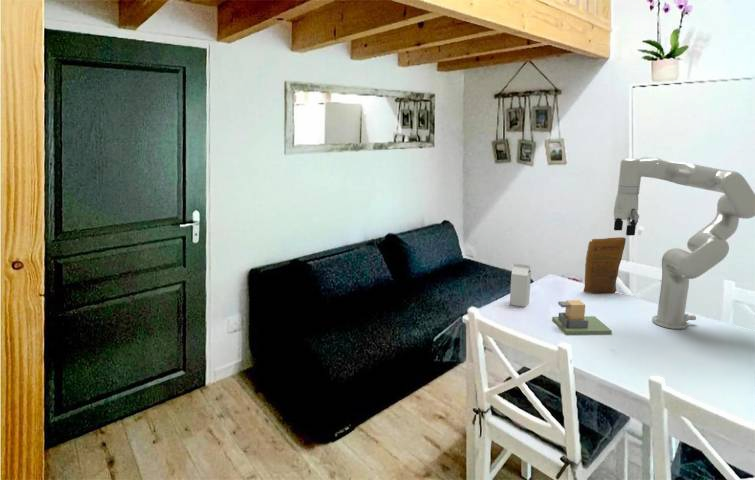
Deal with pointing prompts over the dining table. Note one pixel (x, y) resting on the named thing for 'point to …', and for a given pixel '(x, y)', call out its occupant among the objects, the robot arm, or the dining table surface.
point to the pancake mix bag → (603, 264)
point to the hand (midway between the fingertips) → (623, 232)
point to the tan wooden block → (573, 309)
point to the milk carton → (520, 285)
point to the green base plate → (581, 325)
